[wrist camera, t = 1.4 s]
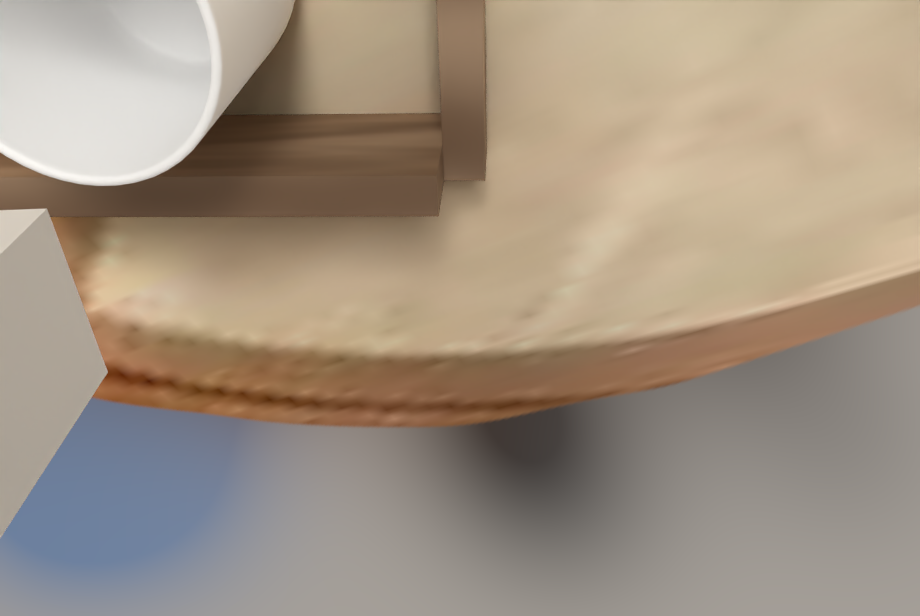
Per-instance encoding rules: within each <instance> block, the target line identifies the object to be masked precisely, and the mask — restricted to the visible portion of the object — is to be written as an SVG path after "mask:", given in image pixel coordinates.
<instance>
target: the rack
mask: <svg viewBox="0 0 920 616" xmlns="http://www.w3.org/2000/svg"><path fill="white" fill-rule="evenodd" d="M436 5H437V29H438V52H439V76H440V99H441V113H421V114H308V115H221V116H220V117H219V118H218V119H217V121H216V122H215V123H214V124H213V126H212V127H211V128H210V129H209V131H208V132H207V133H206V135H205V136H204V137H203V138H202V140H201V141H200V142H199V143H198V145H197V146H196V147H195V148H194V150H193V151H192V152H191V153H189V154H188V155H187V156H186V157H185V158H184V159H183V160H182V161H181V162H179V163H178V164H176V165H175V166H173V167H172V168H170V169H169V170H167V171H165V172H163V173H161V174H159V175H157V176H155V177H153V178H149V179H146V180H143V181H139V182H136V183H130V184H124V185H117V186H94V185H83V184H77V183H72V182H67V181H62V180H59V179H56V178H52V177H49V176H46V175H43V174H41V173H38V172H36V171H34V170H31V169H29V168H27V167H25V166H23V165H21V164H19V163H17V162H15V161H14V160H12V159H10V158H8V157H6V156H5V155H3V154H2V153H0V210H20V209H46V208H47V210H48V213H49V215H50V217H304V216H439V209H440V203H441V196H442V190H443V184H444V181H445V180H485V171H486V154H487V125H486V36H485V0H436Z"/></svg>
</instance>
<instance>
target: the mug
mask: <svg viewBox="0 0 920 616" xmlns="http://www.w3.org/2000/svg"><path fill="white" fill-rule="evenodd" d="M294 2H295V0H0V153H2V154H3V155H5V156H6V157H8V158H10V159H12V160H14V161H15V162H17V163H19V164H21V165H23V166H25V167H27V168H29V169H31V170H34V171H36V172H38V173H41V174H43V175H46V176H49V177H52V178H56V179H59V180H62V181H67V182H72V183H77V184H83V185H94V186H117V185H124V184H130V183H136V182H139V181H143V180H146V179H149V178H153V177H155V176H157V175H159V174H161V173H163V172H165V171H167V170H169V169H170V168H172V167H173V166H175V165H176V164H178V163H179V162H181V161H182V160H183V159H184V158H185V157H186V156H187V155H188V154H189V153H191V152H192V151H193V150H194V148H195V147H196V146H197V145H198V143H199V142H200V141H201V140H202V138H203V137H204V136H205V135H206V133H207V132H208V131H209V129H210V128H211V127H212V126H213V124H214V123H215V122H216V121H217V119H218V118H219V117H220V116H221V114H222V113H223V112H224V110H225V109H226V108H227V107H228V105H229V104H230V103H231V102H232V100H233V99H234V98H235V97H236V95H237V94H238V93H239V91H240V90H241V89H242V88H243V86H244V85H245V84H246V83H247V81H248V80H249V79H250V77H251V76H252V75H253V74H254V72H255V71H256V70H257V69H258V67H259V66H260V65H261V64H262V62H263V61H264V60H265V58H266V57H267V56H268V55H269V53H270V52H271V51H272V49H273V48H274V47H275V45H276V44H277V43H278V41H279V39H280V37H281V36H282V34H283V32H284V30H285V28H286V26H287V24H288V22H289V19H290V16H291V14H292V10H293V6H294Z"/></svg>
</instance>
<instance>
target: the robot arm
mask: <svg viewBox="0 0 920 616" xmlns="http://www.w3.org/2000/svg"><path fill="white" fill-rule="evenodd" d="M107 373H108V371H107V369H106V366H105V363H104V361H103V358H102V355H101V353H100V350H99V347H98V345H97V342H96V339H95V336H94V334H93V331H92V328H91V326H90V323H89V320H88V318H87V315H86V312H85V310H84V307H83V304H82V302H81V299H80V296H79V293H78V291H77V288H76V285H75V283H74V280H73V277H72V275H71V272H70V269H69V267H68V264H67V261H66V258H65V256H64V253H63V250H62V248H61V245H60V242H59V240H58V237H57V234H56V232H55V229H54V226H53V223H52V221H51V218H50V215H49V213H48V210H47V208H46V209H20V210H0V538H1V536H2V535H3V533H4V532H5V530H6V529H7V527H8V526H9V524H10V522H11V521H12V519H13V518H14V516H15V515H16V513H17V511H18V510H19V509H20V507H21V505H22V504H23V502H24V501H25V499H26V498H27V496H28V495H29V493H30V491H31V490H32V488H33V487H34V485H35V484H36V482H37V481H38V479H39V478H40V476H41V474H42V473H43V471H44V470H45V468H46V467H47V465H48V464H49V462H50V460H51V459H52V457H53V456H54V454H55V453H56V451H57V450H58V448H59V447H60V445H61V443H62V442H63V441H64V439H65V437H66V436H67V434H68V433H69V431H70V430H71V428H72V427H73V425H74V424H75V422H76V420H77V419H78V417H79V416H80V414H81V412H82V411H83V410H84V408H85V407H86V405H87V403H88V402H89V400H90V399H91V397H92V396H93V394H94V393H95V391H96V390H97V388H98V386H99V385H100V383H101V382H102V380H103V379H104V377H105V376H106V374H107Z"/></svg>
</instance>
